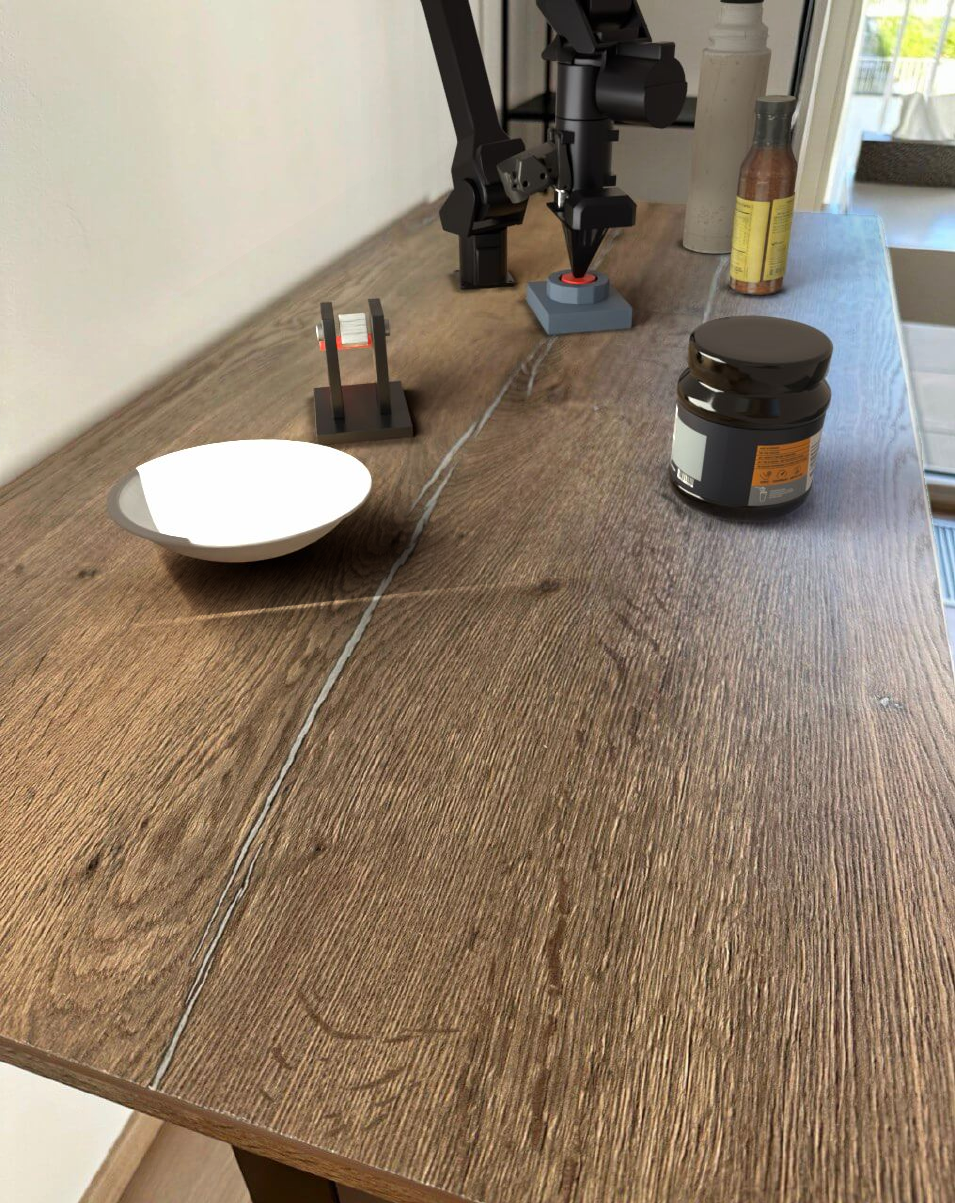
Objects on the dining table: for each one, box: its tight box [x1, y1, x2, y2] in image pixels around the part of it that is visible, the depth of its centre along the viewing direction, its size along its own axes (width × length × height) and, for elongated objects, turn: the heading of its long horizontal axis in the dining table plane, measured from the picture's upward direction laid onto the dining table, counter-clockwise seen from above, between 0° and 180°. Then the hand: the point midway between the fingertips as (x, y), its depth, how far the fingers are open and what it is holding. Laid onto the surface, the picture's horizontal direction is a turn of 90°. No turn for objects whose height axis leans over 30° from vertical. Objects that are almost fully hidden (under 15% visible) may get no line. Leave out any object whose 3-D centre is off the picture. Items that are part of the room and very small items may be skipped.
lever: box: [319, 312, 372, 352], centre depth 84 cm, size 13×6×2 cm, turn 9°
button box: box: [526, 268, 634, 336], centre depth 104 cm, size 11×9×4 cm
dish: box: [105, 439, 373, 563], centre depth 65 cm, size 18×14×5 cm
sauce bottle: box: [728, 94, 798, 296], centre depth 105 cm, size 7×6×20 cm
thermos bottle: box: [682, 0, 772, 255], centre depth 117 cm, size 8×8×28 cm
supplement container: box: [667, 315, 834, 523], centre depth 69 cm, size 10×10×12 cm
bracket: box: [313, 297, 414, 446], centre depth 81 cm, size 10×8×10 cm
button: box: [562, 273, 595, 284], centre depth 103 cm, size 4×4×2 cm
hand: (578, 277), depth 102 cm, fingers closed, pressing on button
